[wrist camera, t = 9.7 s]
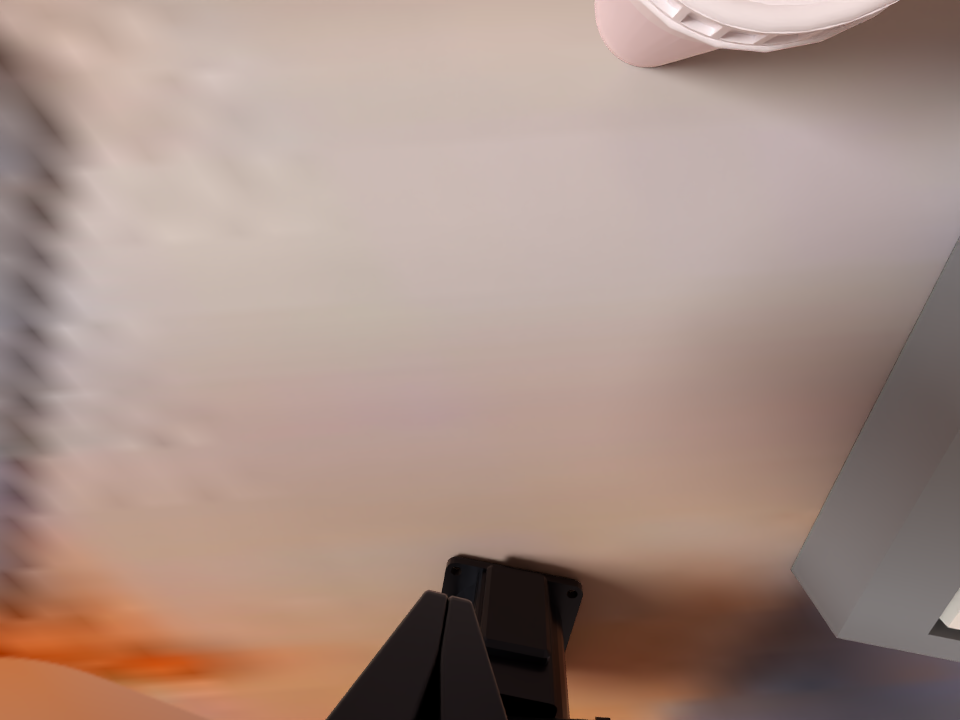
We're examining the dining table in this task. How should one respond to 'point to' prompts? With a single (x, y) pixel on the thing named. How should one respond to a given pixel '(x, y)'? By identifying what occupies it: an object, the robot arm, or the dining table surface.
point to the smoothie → (722, 25)
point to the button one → (952, 612)
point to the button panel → (899, 500)
